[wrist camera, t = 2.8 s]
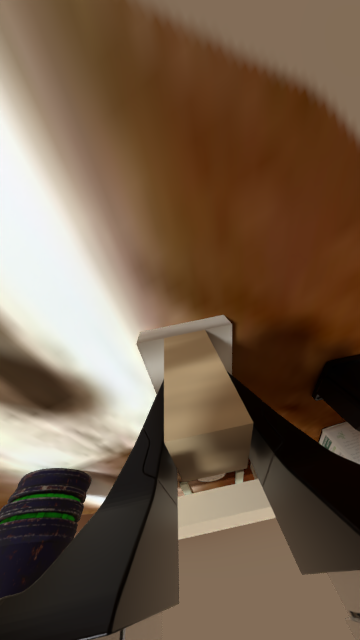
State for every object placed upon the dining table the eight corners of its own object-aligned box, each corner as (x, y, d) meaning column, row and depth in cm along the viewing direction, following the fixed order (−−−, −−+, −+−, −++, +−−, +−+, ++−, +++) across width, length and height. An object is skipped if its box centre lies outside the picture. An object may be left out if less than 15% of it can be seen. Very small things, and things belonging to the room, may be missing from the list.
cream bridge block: (264, 444, 23) (294, 501, 18) (259, 464, 28) (282, 516, 22) (150, 469, 23) (146, 534, 18) (162, 486, 27) (162, 543, 22)
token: (221, 456, 25) (225, 468, 23) (222, 466, 27) (225, 478, 26) (194, 462, 25) (196, 474, 23) (197, 472, 27) (199, 483, 25)
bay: (242, 468, 28) (243, 471, 27) (241, 485, 33) (241, 488, 32) (179, 482, 27) (179, 485, 27) (187, 497, 32) (187, 500, 32)
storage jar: (102, 472, 22) (7, 814, 9) (79, 494, 25) (-17, 772, 12) (29, 464, 18) (-317, 1008, 5) (13, 490, 21) (-232, 878, 8)
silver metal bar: (139, 332, 11) (103, 455, 4) (223, 314, 11) (312, 410, 5) (185, 455, 22) (194, 544, 15) (227, 445, 22) (254, 530, 16)
